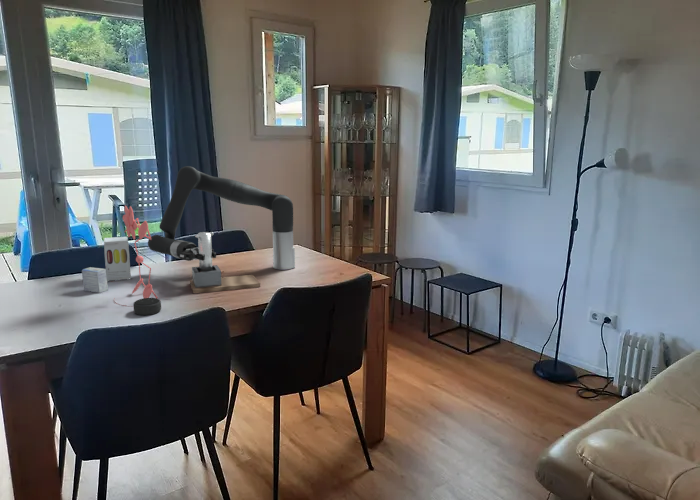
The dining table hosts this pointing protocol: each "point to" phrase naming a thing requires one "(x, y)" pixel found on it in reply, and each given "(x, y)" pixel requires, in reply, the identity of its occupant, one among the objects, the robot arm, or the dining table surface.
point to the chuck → (206, 277)
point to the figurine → (130, 229)
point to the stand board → (229, 284)
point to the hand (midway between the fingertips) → (209, 256)
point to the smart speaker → (147, 306)
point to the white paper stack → (94, 279)
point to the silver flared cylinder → (205, 250)
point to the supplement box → (117, 258)
